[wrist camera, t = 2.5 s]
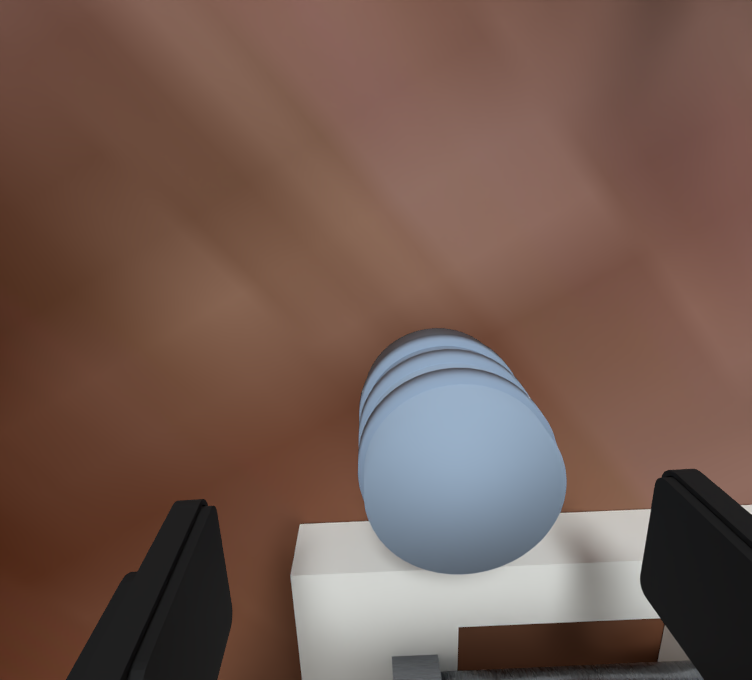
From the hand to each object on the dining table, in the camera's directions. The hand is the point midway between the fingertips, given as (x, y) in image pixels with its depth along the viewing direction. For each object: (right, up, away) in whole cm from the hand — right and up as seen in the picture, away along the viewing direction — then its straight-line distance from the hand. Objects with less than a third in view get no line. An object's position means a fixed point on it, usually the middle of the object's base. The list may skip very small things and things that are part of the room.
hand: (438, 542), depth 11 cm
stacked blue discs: (+1, +2, +6) cm, 7 cm away
